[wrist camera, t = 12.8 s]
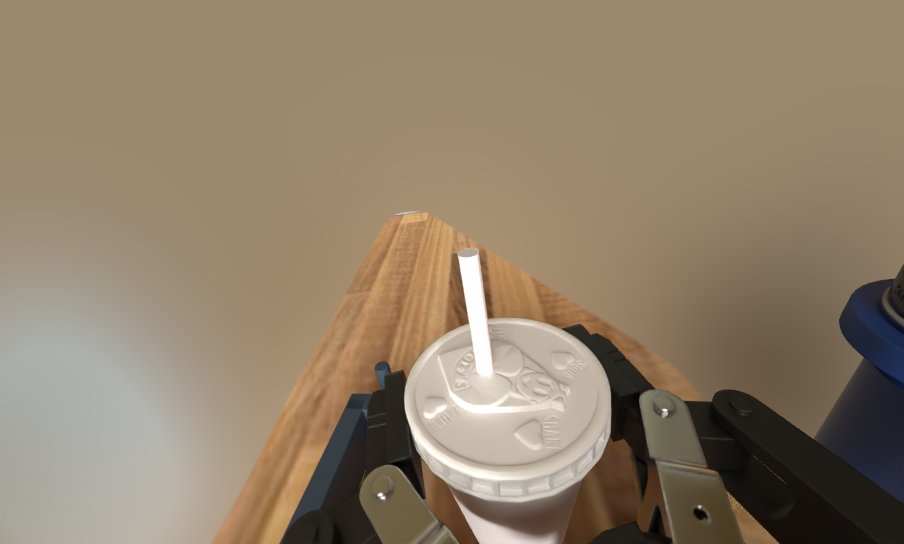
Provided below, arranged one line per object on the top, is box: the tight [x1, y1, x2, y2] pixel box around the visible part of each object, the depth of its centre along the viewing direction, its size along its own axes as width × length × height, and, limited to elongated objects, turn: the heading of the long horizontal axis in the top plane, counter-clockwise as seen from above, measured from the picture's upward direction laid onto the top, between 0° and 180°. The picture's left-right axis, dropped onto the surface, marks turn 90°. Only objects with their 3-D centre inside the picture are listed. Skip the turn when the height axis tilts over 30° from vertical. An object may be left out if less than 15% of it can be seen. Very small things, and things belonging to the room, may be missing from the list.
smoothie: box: [404, 248, 611, 544], centre depth 12 cm, size 6×6×14 cm
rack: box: [280, 361, 391, 544], centre depth 15 cm, size 14×12×6 cm
